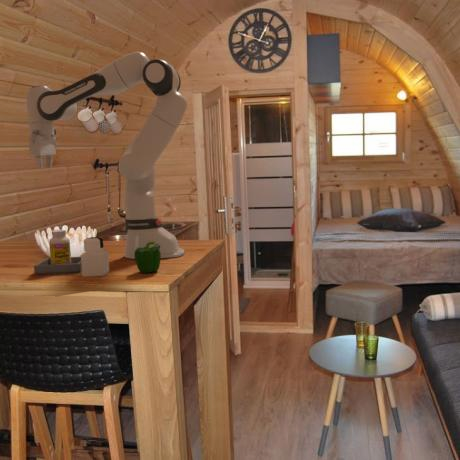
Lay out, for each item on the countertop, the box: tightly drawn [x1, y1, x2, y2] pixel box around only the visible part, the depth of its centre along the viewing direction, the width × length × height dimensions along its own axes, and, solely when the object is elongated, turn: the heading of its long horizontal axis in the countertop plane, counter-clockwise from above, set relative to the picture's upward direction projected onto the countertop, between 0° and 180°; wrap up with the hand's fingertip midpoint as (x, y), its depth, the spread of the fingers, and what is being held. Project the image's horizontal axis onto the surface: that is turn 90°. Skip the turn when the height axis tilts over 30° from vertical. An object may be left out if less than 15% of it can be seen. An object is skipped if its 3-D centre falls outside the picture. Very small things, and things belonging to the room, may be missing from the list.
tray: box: [33, 256, 82, 276], centre depth 188 cm, size 15×13×3 cm
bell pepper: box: [134, 241, 162, 274], centre depth 178 cm, size 8×8×10 cm
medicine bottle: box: [80, 236, 110, 278], centre depth 178 cm, size 7×7×12 cm
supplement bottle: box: [48, 229, 72, 265], centre depth 187 cm, size 7×7×13 cm
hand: (44, 168), depth 209 cm, fingers open, 8 cm apart
